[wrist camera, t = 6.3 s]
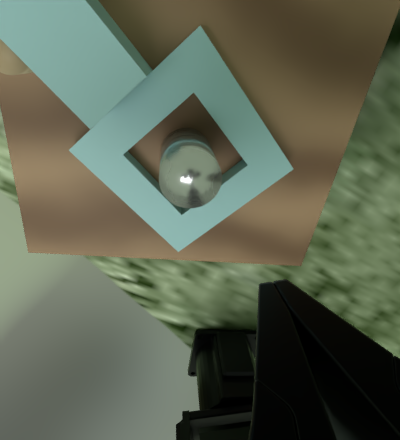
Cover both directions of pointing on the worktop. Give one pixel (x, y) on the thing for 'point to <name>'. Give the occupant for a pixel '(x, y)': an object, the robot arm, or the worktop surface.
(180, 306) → the worktop surface
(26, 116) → the board
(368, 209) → the worktop surface
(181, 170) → the post
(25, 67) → the dowel
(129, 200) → the flange
